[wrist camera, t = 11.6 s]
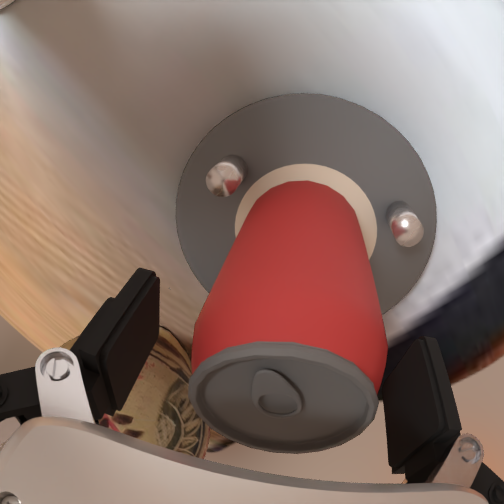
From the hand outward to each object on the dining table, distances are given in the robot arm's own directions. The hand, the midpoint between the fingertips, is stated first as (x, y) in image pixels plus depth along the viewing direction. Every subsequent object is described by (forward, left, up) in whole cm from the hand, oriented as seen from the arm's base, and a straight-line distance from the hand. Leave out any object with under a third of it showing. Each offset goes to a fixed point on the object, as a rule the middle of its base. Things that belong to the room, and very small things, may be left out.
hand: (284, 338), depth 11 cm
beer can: (0, 0, -9) cm, 9 cm away
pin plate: (0, 0, -11) cm, 11 cm away
